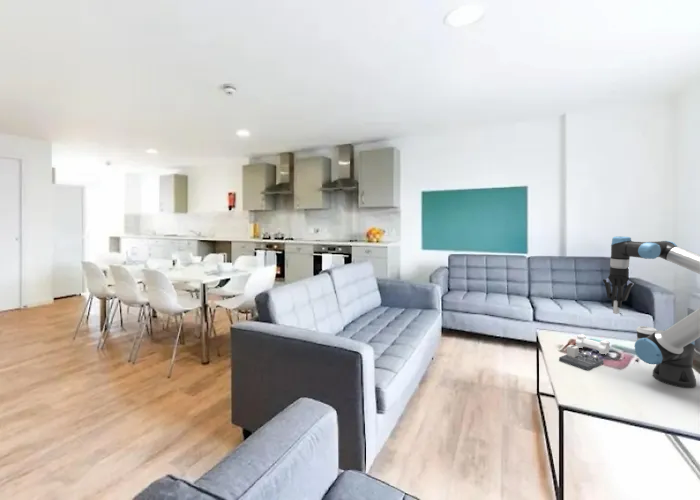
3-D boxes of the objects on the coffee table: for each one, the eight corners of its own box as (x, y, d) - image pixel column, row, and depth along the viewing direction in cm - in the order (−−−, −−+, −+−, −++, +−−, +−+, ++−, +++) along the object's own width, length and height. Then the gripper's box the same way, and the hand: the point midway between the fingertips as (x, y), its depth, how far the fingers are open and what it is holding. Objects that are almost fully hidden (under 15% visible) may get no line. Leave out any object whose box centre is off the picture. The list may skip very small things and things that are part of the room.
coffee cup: (647, 351, 200) (650, 325, 198) (660, 357, 190) (663, 331, 189) (630, 350, 201) (632, 325, 199) (642, 357, 191) (644, 330, 190)
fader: (578, 355, 188) (578, 346, 188) (574, 357, 186) (575, 347, 186) (570, 353, 192) (571, 344, 191) (566, 355, 190) (567, 345, 189)
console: (603, 363, 183) (603, 357, 183) (587, 370, 175) (588, 364, 175) (574, 354, 195) (575, 348, 195) (559, 360, 187) (559, 354, 187)
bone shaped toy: (609, 354, 197) (611, 340, 197) (604, 356, 192) (605, 342, 192) (580, 346, 209) (581, 333, 209) (574, 348, 204) (575, 334, 204)
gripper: (638, 268, 171) (634, 315, 173) (608, 265, 182) (604, 309, 184) (631, 269, 167) (627, 317, 169) (600, 266, 178) (597, 311, 181)
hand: (615, 313), depth 177 cm, fingers closed
